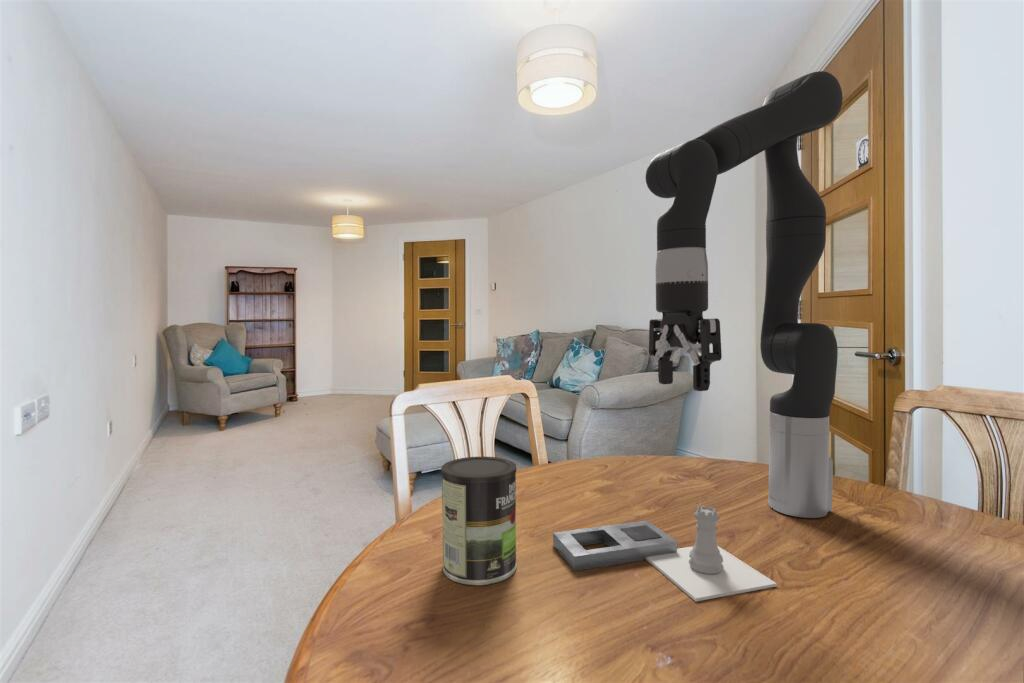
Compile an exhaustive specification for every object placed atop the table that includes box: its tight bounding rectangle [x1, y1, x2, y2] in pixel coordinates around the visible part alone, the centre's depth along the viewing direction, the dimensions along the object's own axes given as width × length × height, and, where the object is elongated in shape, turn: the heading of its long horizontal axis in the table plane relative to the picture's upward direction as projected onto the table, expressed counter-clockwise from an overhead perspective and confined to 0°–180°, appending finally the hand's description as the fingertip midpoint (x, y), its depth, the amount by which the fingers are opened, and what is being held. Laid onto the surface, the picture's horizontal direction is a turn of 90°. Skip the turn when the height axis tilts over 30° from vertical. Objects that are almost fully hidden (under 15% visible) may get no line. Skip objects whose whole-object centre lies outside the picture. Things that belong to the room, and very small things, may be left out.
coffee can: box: [440, 456, 517, 586], centre depth 69 cm, size 10×10×14 cm
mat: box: [645, 545, 778, 603], centre depth 67 cm, size 12×12×1 cm
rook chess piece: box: [689, 505, 724, 575], centre depth 67 cm, size 4×4×8 cm
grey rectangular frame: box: [552, 519, 678, 572], centre depth 73 cm, size 16×8×2 cm, turn 106°
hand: (682, 387), depth 76 cm, fingers open, 8 cm apart
